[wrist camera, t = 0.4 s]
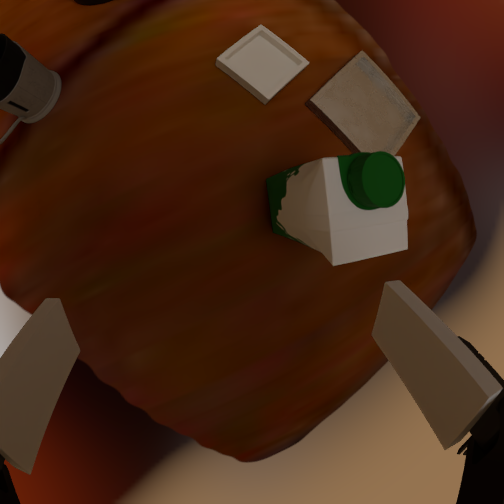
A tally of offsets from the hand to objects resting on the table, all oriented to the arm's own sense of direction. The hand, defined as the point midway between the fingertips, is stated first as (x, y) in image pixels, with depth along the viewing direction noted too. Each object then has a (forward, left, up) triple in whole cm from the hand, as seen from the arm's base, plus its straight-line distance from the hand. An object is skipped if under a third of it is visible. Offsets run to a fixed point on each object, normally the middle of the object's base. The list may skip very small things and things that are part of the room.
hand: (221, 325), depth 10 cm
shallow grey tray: (-17, +25, -26) cm, 40 cm away
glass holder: (-21, -25, -26) cm, 42 cm away
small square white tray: (-23, +9, -26) cm, 36 cm away
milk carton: (-3, +12, -26) cm, 29 cm away
